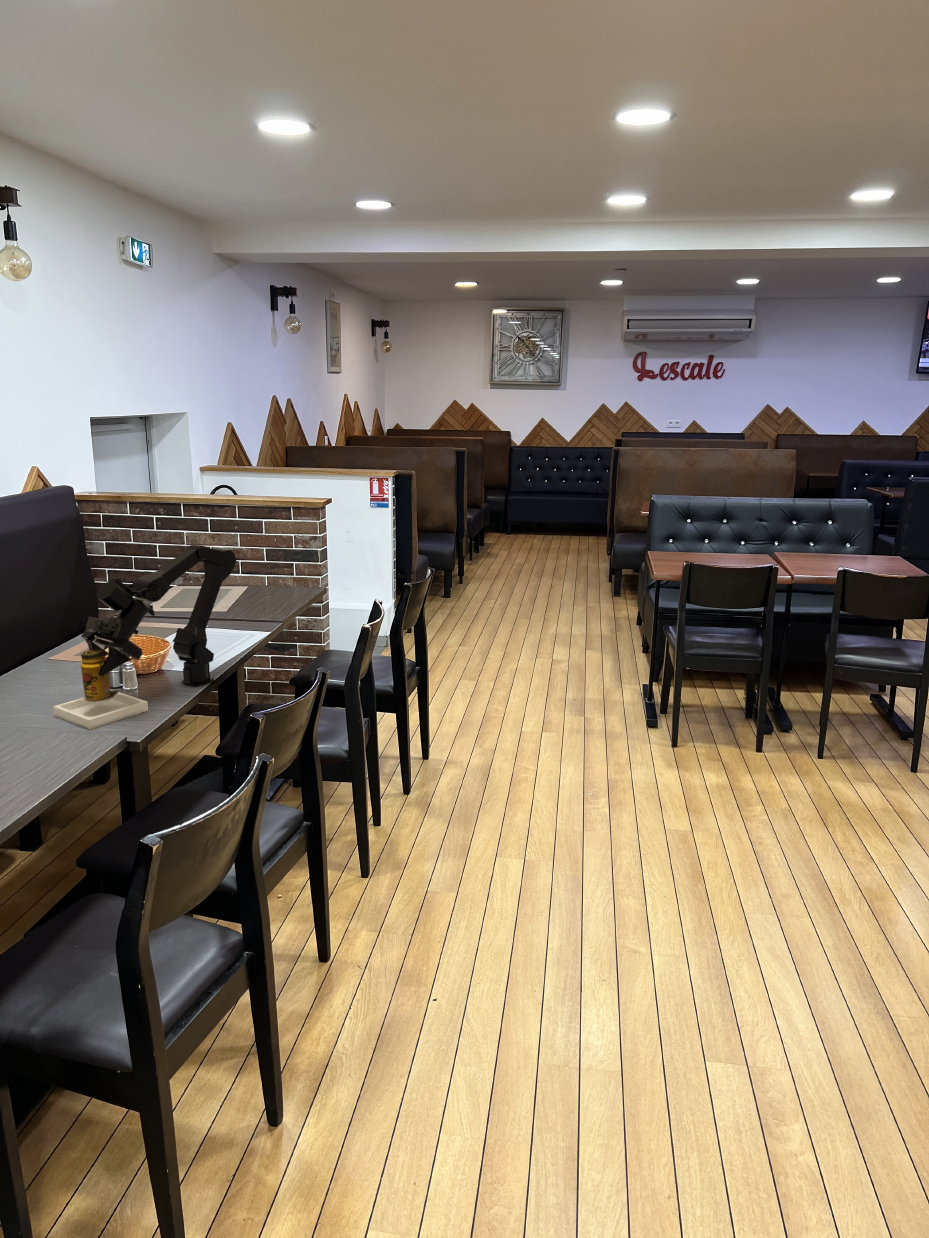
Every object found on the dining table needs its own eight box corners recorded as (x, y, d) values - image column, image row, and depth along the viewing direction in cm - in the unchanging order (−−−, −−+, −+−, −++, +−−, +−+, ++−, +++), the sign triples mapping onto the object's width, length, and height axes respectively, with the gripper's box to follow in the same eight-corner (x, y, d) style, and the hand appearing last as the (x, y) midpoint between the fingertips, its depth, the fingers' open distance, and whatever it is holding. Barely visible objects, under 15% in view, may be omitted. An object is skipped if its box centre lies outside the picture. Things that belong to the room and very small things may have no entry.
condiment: (78, 702, 211) (72, 656, 208) (93, 691, 219) (87, 646, 216) (107, 702, 211) (102, 656, 207) (121, 690, 219) (116, 646, 216)
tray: (112, 698, 226) (111, 689, 226) (148, 710, 217) (147, 701, 216) (54, 715, 214) (53, 706, 213) (89, 729, 204) (88, 720, 204)
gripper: (83, 598, 217) (47, 650, 211) (126, 609, 206) (89, 663, 200) (115, 621, 225) (81, 672, 219) (157, 632, 214) (123, 686, 209)
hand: (92, 673), depth 212 cm, fingers closed on condiment, 6 cm apart
